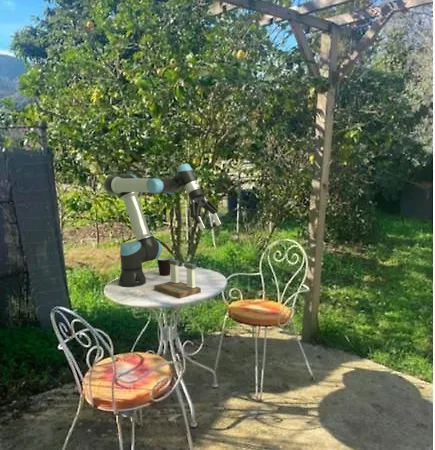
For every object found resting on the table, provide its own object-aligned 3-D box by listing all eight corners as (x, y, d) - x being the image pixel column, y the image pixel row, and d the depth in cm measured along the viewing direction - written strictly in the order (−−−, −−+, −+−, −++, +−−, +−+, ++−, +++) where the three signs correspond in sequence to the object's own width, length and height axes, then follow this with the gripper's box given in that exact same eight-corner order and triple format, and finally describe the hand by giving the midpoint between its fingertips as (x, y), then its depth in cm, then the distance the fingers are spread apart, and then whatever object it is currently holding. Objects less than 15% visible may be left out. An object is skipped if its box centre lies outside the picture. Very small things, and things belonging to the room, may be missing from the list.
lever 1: (173, 280, 245) (172, 259, 243) (180, 282, 241) (179, 260, 239) (169, 281, 243) (168, 260, 242) (176, 283, 239) (175, 261, 237)
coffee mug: (169, 276, 265) (168, 260, 264) (155, 276, 267) (155, 260, 266) (175, 271, 277) (174, 256, 275) (161, 271, 278) (161, 255, 277)
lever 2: (189, 285, 235) (188, 263, 233) (196, 287, 230) (196, 264, 229) (185, 286, 233) (184, 263, 231) (193, 288, 229) (192, 265, 227)
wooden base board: (175, 284, 247) (174, 280, 247) (200, 292, 231) (200, 287, 231) (154, 290, 238) (154, 285, 237) (179, 298, 222) (179, 293, 222)
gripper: (183, 189, 222) (200, 227, 219) (213, 185, 242) (230, 220, 238) (173, 196, 227) (190, 233, 223) (204, 192, 246) (220, 226, 243)
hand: (211, 226), depth 231 cm, fingers open, 13 cm apart
